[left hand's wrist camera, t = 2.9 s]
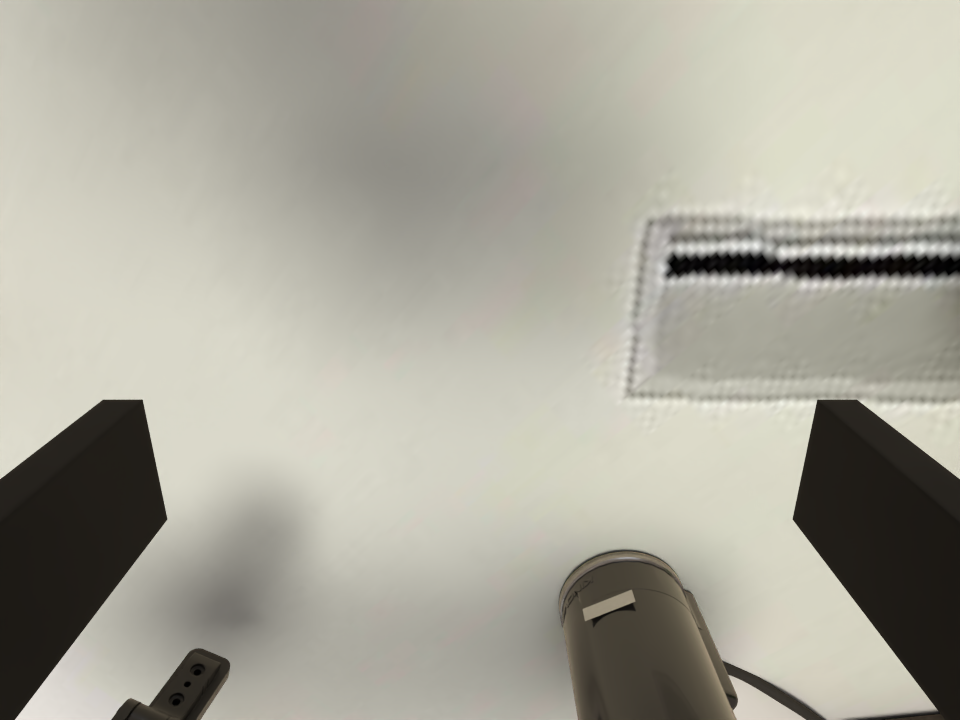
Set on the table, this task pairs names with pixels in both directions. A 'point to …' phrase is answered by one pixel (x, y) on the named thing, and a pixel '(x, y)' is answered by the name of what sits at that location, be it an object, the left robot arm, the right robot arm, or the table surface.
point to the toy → (922, 717)
